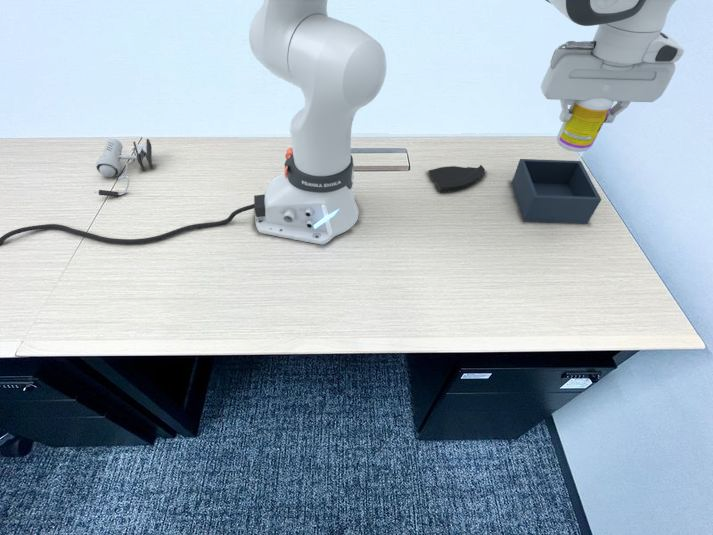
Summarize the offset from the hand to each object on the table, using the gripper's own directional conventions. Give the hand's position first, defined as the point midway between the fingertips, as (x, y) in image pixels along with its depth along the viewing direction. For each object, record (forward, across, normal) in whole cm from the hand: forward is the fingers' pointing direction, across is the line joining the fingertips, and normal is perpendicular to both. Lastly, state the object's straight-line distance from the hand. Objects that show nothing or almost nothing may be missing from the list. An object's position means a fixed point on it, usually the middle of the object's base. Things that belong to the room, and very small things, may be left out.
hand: (585, 120), depth 76 cm
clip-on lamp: (+20, -100, +4) cm, 102 cm away
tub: (+20, 0, 0) cm, 20 cm away
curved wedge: (+20, -20, +7) cm, 29 cm away
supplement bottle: (+5, 0, 0) cm, 5 cm away
